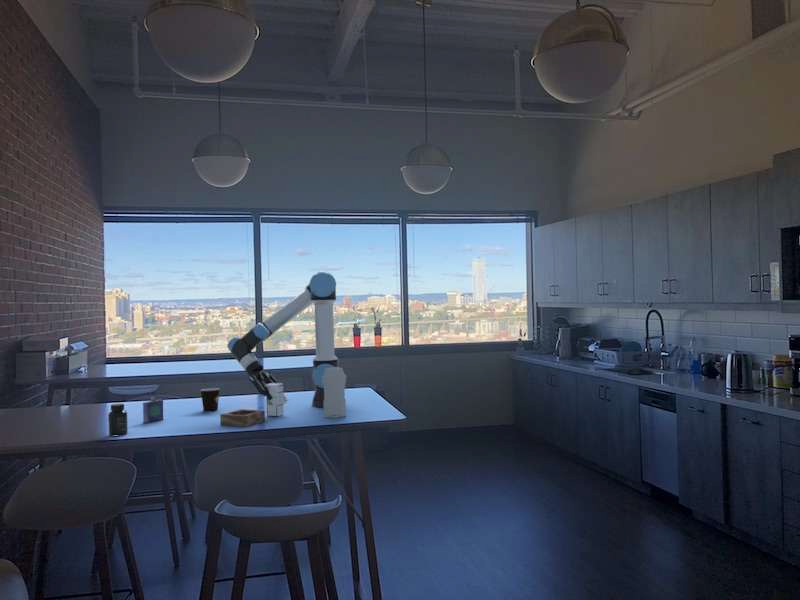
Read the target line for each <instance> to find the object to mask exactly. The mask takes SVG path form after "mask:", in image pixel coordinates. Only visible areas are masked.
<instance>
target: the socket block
mask: <svg viewBox="0 0 800 600" xmlns="http://www.w3.org/2000/svg"><path fill="white" fill-rule="evenodd" d="M265 412H266V411H265V410H258V409H246V408H245V409H244V408H240V409H236V410H232V411H228V412H224V413H221V414H220V415H219V416H220V417H219V418H220V420H219V421H220V422H219V423H220V426H229V427H238V428H239V427H240V428H247V427H250V426H253V425H257V424H260V422H261V423H264V422H265V421H266V418H265V417H266V416H265ZM263 421H264V422H263Z"/></svg>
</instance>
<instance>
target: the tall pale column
mask: <svg viewBox="0 0 800 600" xmlns="http://www.w3.org/2000/svg"><path fill="white" fill-rule="evenodd" d="M346 383H347V374H345V372H344V369H343V367H339V368H337V367H332V368H328V369H325V373H324V375H323V376H322V384H323V385H324V397H325V398H324V402H323V403H324V407H323V418H325V419H331V418H333V419H334V418H346V417H347V401H346V397H345V396H346V395H345V394H346V393H345V391H346V390H345V389H346V388H345V387H346Z"/></svg>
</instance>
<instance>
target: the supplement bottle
mask: <svg viewBox="0 0 800 600" xmlns="http://www.w3.org/2000/svg"><path fill="white" fill-rule="evenodd" d="M110 410H111V411H110V412H109V413H108V414H107V418H108V435H109V436H110V435H123V436H126V435H127V434H128V430H129V429H128V412H127V410H125V404H124V403H112V404H111V405H110ZM125 434H126V435H125Z"/></svg>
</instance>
